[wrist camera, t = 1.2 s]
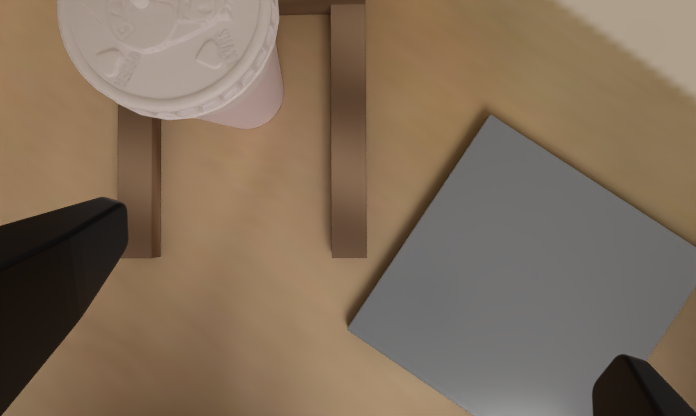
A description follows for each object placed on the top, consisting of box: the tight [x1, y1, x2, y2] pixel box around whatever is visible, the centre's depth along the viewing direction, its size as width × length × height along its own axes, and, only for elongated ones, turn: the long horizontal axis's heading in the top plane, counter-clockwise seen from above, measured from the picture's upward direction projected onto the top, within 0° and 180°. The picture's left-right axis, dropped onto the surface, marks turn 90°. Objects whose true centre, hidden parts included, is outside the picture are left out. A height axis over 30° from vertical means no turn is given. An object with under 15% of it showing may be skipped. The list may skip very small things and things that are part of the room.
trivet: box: [347, 115, 696, 416], centre depth 22 cm, size 12×12×1 cm
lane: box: [118, 0, 367, 258], centre depth 22 cm, size 13×12×2 cm
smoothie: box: [57, 0, 284, 129], centre depth 16 cm, size 6×6×14 cm
